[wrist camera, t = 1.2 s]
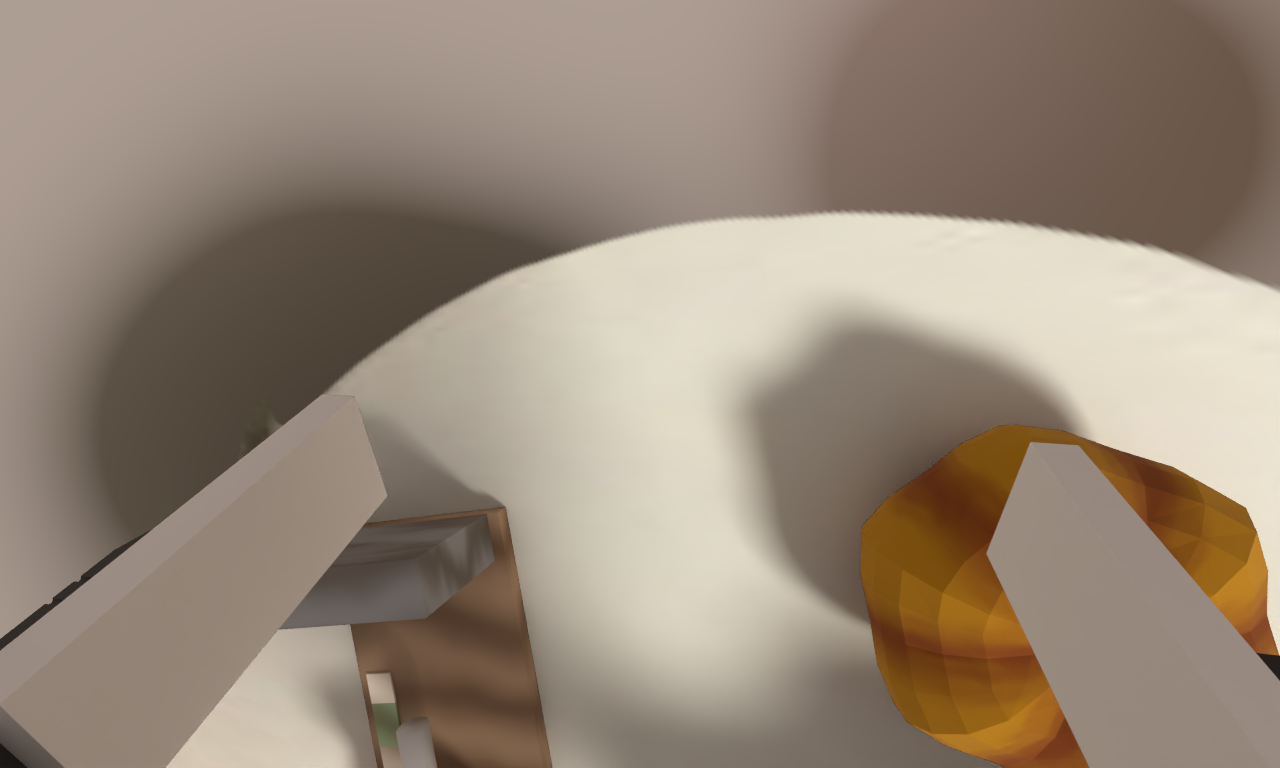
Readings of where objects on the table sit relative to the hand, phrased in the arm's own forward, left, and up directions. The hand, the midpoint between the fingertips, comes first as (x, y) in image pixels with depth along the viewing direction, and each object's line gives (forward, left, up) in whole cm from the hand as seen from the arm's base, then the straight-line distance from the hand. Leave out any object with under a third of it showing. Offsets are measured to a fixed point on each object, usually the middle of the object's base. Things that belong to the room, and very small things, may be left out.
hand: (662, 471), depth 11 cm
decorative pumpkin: (-21, -10, -33) cm, 40 cm away
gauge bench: (-13, +35, -32) cm, 49 cm away
